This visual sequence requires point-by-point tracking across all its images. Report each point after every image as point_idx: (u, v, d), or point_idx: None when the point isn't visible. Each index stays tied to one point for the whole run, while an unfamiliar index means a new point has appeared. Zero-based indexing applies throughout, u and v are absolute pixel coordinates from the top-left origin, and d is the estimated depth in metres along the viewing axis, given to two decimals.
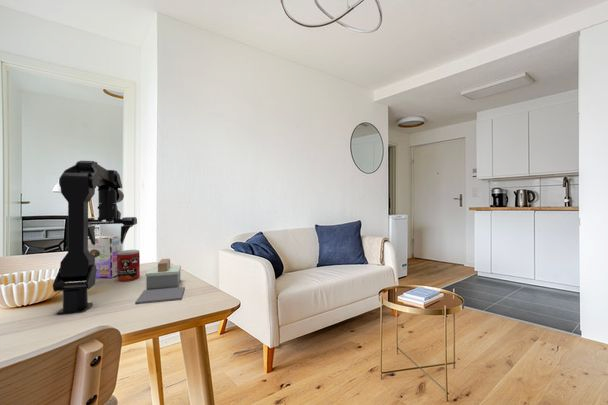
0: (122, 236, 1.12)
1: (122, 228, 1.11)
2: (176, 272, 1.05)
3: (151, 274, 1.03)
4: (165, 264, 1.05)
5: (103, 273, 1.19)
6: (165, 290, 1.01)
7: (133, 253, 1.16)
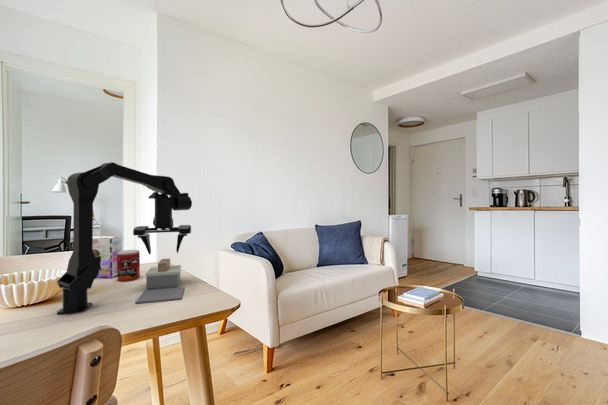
0: (178, 245, 1.09)
1: (179, 236, 1.08)
2: (176, 272, 1.05)
3: (151, 274, 1.03)
4: (165, 264, 1.05)
5: (103, 273, 1.19)
6: (165, 290, 1.01)
7: (133, 253, 1.16)
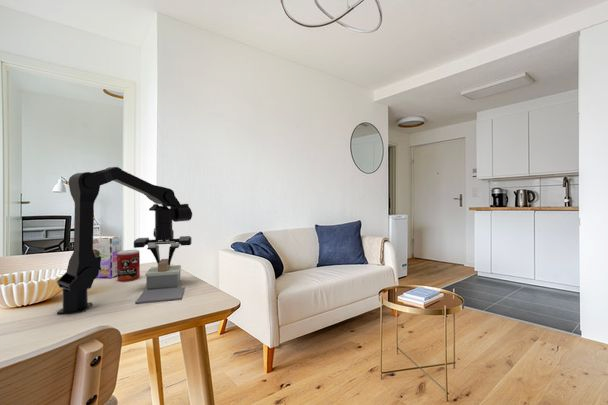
0: (170, 257, 1.08)
1: (170, 248, 1.07)
2: (176, 272, 1.05)
3: (151, 274, 1.03)
4: (165, 264, 1.05)
5: (103, 273, 1.19)
6: (165, 290, 1.01)
7: (133, 253, 1.16)
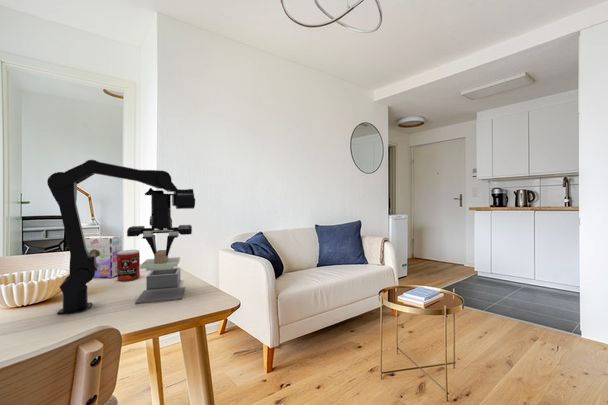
0: (168, 248, 0.96)
1: (169, 238, 0.95)
2: (175, 264, 0.94)
3: (147, 266, 0.91)
4: (162, 255, 0.94)
5: (103, 273, 1.19)
6: (165, 290, 1.01)
7: (133, 253, 1.16)
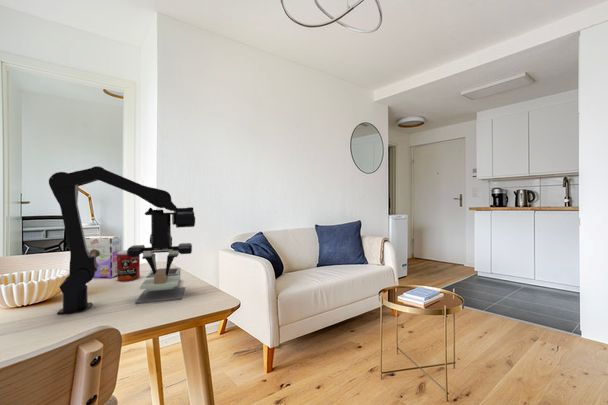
0: (168, 267, 0.96)
1: (169, 258, 0.95)
2: (175, 284, 0.94)
3: (146, 287, 0.91)
4: (162, 275, 0.94)
5: (103, 273, 1.19)
6: (165, 290, 1.01)
7: None
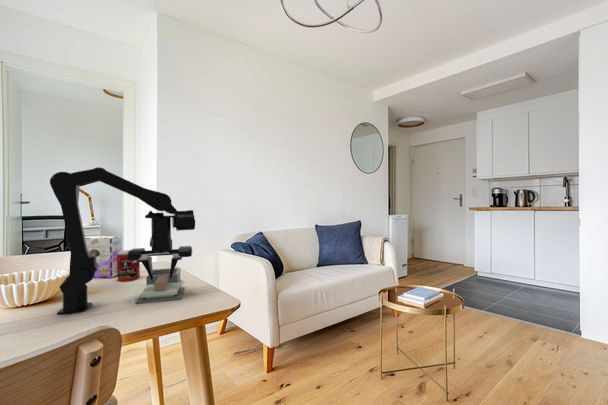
0: (172, 270, 0.97)
1: (173, 260, 0.95)
2: (175, 292, 0.94)
3: (147, 295, 0.91)
4: (163, 283, 0.94)
5: (103, 273, 1.19)
6: None
7: None
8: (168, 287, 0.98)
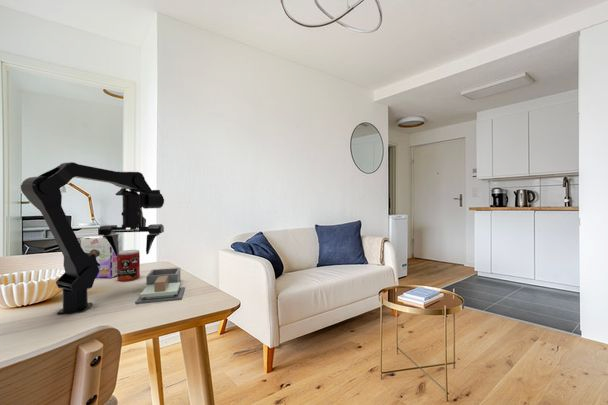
0: (148, 246, 1.00)
1: (148, 237, 0.99)
2: (175, 292, 0.94)
3: (147, 295, 0.91)
4: (163, 283, 0.94)
5: (103, 273, 1.19)
6: None
7: (133, 253, 1.16)
8: (168, 287, 0.98)
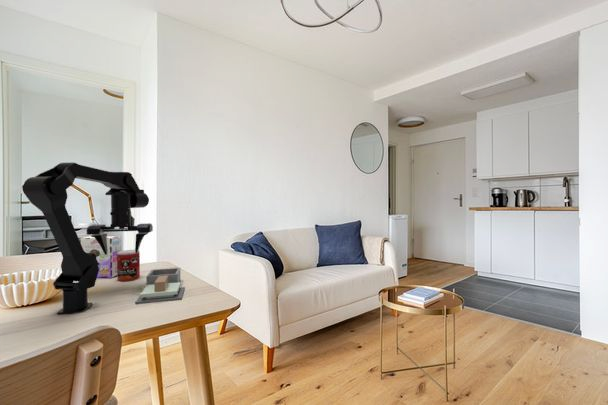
0: (137, 245, 1.02)
1: (137, 236, 1.01)
2: (175, 292, 0.94)
3: (147, 295, 0.91)
4: (163, 283, 0.94)
5: (103, 273, 1.19)
6: None
7: (133, 253, 1.16)
8: (168, 287, 0.98)
